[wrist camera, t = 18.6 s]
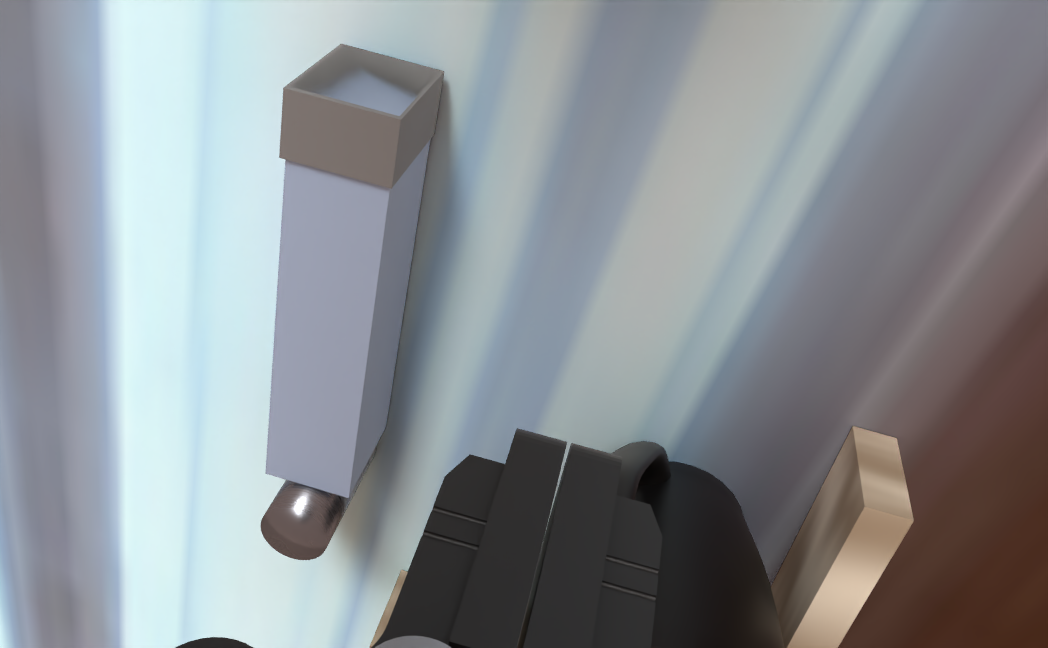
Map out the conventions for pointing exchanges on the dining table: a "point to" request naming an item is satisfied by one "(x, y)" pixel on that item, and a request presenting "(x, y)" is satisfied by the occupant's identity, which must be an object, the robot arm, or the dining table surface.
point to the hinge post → (304, 518)
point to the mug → (700, 557)
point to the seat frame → (830, 544)
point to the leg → (345, 257)
